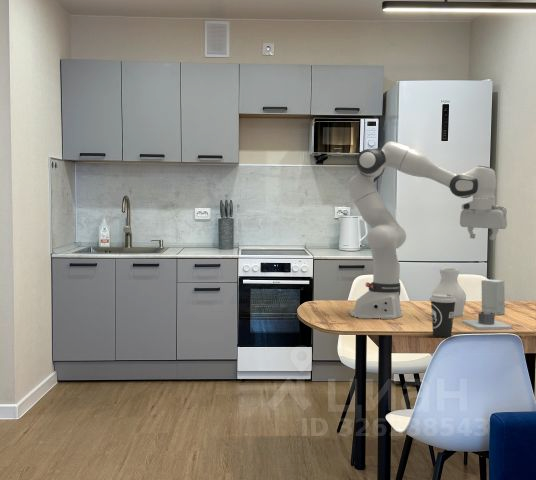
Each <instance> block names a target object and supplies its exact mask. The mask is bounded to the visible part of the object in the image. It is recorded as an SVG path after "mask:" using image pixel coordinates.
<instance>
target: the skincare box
mask: <svg viewBox="0 0 536 480" xmlns="http://www.w3.org/2000/svg"><path fill="white" fill-rule="evenodd" d="M505 294H506V293H505V280H502V279H501V280H500V279H490V278H489V279H488V278H487V279H482V280H481V312H483V311H484V310H488V311H490V313H494V314H495V316H498V315H505V313H506V310H505V309H506V305H505V302H506V301H505V296H506V295H505Z"/></svg>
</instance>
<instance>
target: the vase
mask: <svg viewBox="0 0 536 480" xmlns="http://www.w3.org/2000/svg"><path fill="white" fill-rule="evenodd" d="M459 273H460V269H459V268H453V267H441V268H439V274H440V278H441V279H440V281H439V283H438V285H436V287H434V289H433V290H432V293H431V295H432V294H436V293H445V294H452V295H454V296H455V298H456V301H457V302H455V308H454V316H453V318H459V317H460V318H461V317H462V316H463V314H464V309H465V306H466V300H467V294H466V292H465V290H464V289H463V287H462V286H461V285H460V284H459V281H458V277H459Z"/></svg>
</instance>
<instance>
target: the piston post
mask: <svg viewBox="0 0 536 480" xmlns="http://www.w3.org/2000/svg"><path fill="white" fill-rule="evenodd" d="M483 314H490V311H488V310H484V311H483ZM461 323H462V324H464V325H467V326H469V327H471V328H474V330H475V329H476V330H478V331H479V330H480V331H482V330H487V331H488V330H513V326H512V325H510V324H507V323H504V322H501V321H499V320H497V319H494V324H493V325H484V324H479V323H478V319H466V320H465V319H462V320H461Z"/></svg>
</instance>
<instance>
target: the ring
mask: <svg viewBox="0 0 536 480" xmlns="http://www.w3.org/2000/svg"><path fill="white" fill-rule="evenodd" d="M495 316H496V315H495V314H494V313H490V314H483V312H482V311H479V312H478V315H477V317H478V318H477V320H478V323H479V324H484V325H493V324H494V320H496V318H495Z"/></svg>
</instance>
